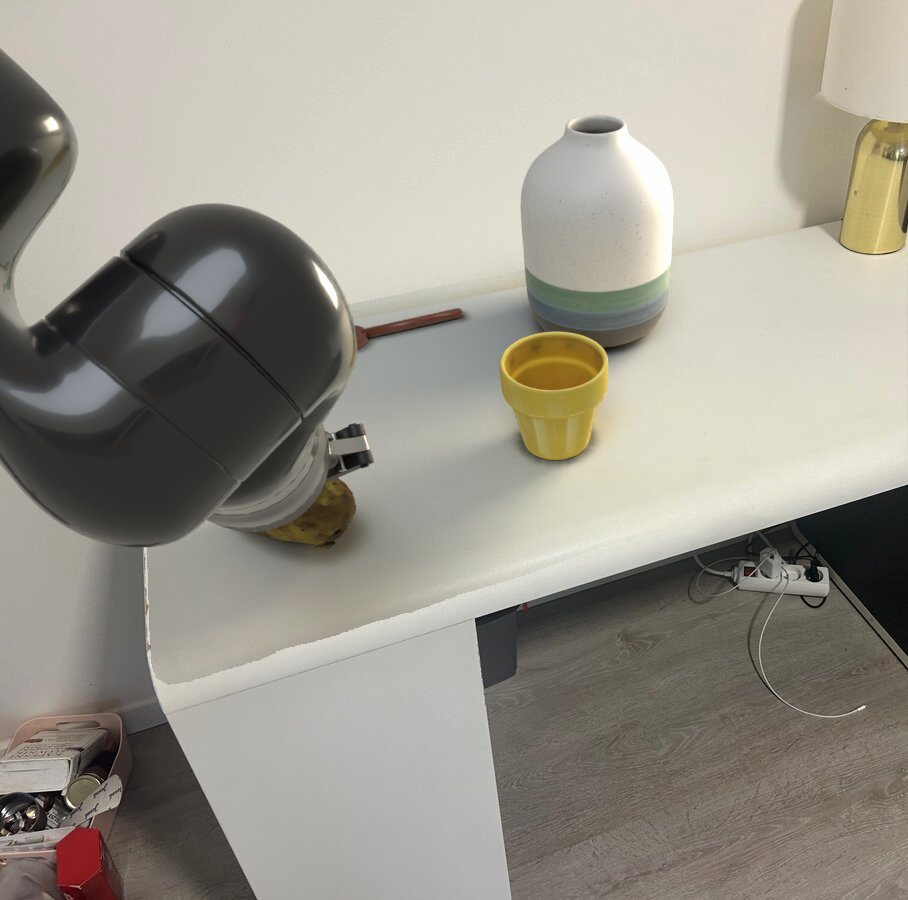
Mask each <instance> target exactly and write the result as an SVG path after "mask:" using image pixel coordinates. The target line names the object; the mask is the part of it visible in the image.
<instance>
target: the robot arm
mask: <svg viewBox="0 0 908 900" xmlns="http://www.w3.org/2000/svg"><path fill="white" fill-rule="evenodd" d="M78 159H79V141H78V137H77V132H76V130H75V127H74V126H73V124H72V122H71V120H70V118H69V116H68V115H67V114H66V112H65V110H64V109H63V108H62V107H61V106H60V105H59V103H57V101H56V100H55V99H54V98H53V97H52V96H51V95H50V93H49V92H48V91H47V90H46V89H44V87H42V85H40V84H39V83H38V81H36V79H34V77H32V76H31V75H30V74H29V73H28V72H27V71H26V70H25V69H24V68H23V67H22V66H20V65H19V64H18V63H17V62H16V61H15V60H14V59H13V58H12V57H11V56H9V54H7V53H6V52H5V51H4V50H3V48H0V466H1V467H2V468H3V470H4V471H5V472H6V473H7V474H8V476H9V477H10V478H11V479H12V480H13V481H14V483H15V484H16V485H17V486H18V487H19V488H20V490H21V491H22V493H24V495H25V496H26V497H27V498H28V499H30V501H32V503H33V504H35V505H36V506H37V508H39V509H40V510H41V511H43V512H44V513H45V514H46V515H48V517H50V518H51V519H52V520H54V521H56V522H57V523H59V525H60V524H61V525H62V526H63V527H64V528H67V529H69V530H71V531H72V532H74V533H77V534H79V535H80V536H83V537H86V538H88V539H90V540H93V541H95V542H100V543H103V544H105V545H112V546H113V545H114V546H119V547H124V548H125V547H126V548H157V547H164V546H167V545H171V544H174V543H175V542H179V541H180V540H183V539H184V538H186V537H187V536H189V535H190V534H191V533H193V532H195V531H197V529H199V528H200V527H201V526H202V525H203V524H204V523H205V522H206V521H207V522H210V523H212V524H215V525H218V526H221V527H222V528H225V529H229V530H232V531H236V532H237V531H238V532H244V533H257V532H260V531H267V530H271V529H275V528H278V527H281V526H284V525H286V524H288V523H290V522H292V521H293V520H295V519H297V518H298V517H299V516H301V515H302V514H303V513H304V512H306V511H307V510H308V509H309V508H310V507H311V505H312V504H313V503H314V502H315V501H316V499H317V498H318V496H319V494H320V493H321V491H322V489H323V487H324V484H325V483H327V482H329V481H332V480H334V479H336V478H339V479H340V478H342V477H343V476H346V475H348V474H351V473H353V472H355V471H358V470H360V469H365V468H368V467H370V465H372V464H374V463H375V460H374V457H373V453H372V451H371V446H370V443H369V440H368V437H367V434H366V433H367V432H366V430H365V427H364V423H357V422H354V423H353V422H352V423H349V424H348V425H347V426H346V427H344V428H341V429H340V430H337V431H331V432H328V431H326V430H325V427H324V423H325V420H326V419H327V418H328V416H329V415H330V413H331V412H332V411H333V409H334V407H335V406H336V404H338V401H339V400H340V398H341V397H342V395H343V393H344V392H345V390H346V389H347V388H348V387H347V386H348V385H349V383H350V381H351V380H352V379H351V378H352V377H353V374H354V372H355V367H356V362H357V357H358V349H357V338H356V331H355V326H354V325H355V322H354V317H353V314H352V311H351V308H350V305H349V302H348V300H347V298H346V295H345V293H344V291H343V289H342V287H341V286H340V284H339V282H338V280H337V278H336V277H335V275H334V274H333V272H332V271H331V269H330V268H329V266H328V264H326V262H325V260H323V258H322V257H321V256H320V255H319V254H318V253H317V251H315V250H314V248H313V247H312V246H310V244H309V243H308V242H306V240H305V239H304V238H302V237H301V236H300V235H298V234H297V233H296V232H295V231H294V230H292V229H290V228H289V227H288V226H286V225H285V224H283V223H282V222H280V221H278V220H276V219H275V218H272V217H271V216H269V215H266V214H264V213H262V212H260V211H258V210H254V209H252V208H248V207H244V206H241V205H235V204H229V203H222V202H221V203H220V202H209V203H196V204H192V205H187V206H182V207H179V208H178V209H175V210H173V211H171V212H169V213H166V214H164V215H163V216H161V217H160V218H158V219H156V220H155V221H154V222H152V223H151V224H149V225H148V226H147V227H146V228H144V229H143V230H142V231H141V232H139V234H137V235H136V236H135V237H134V238H133V239H132V240H130V241H129V242H128V243H127V244H126V245H124V247H122V249H120V250H119V256H118V255H117V256H116V255H113V256H112V257H111V258H110V259H109V260H107V262H105V263H104V264H103V265H102V266H101V267H100V268H98V269H97V270H96V271H95V272H94V273H93V274H91V275H90V276H89V277H88V278H87V279H86V280H85V281H84V282H82V283H81V284H80V285H79V286H78V287H77V288H75V290H73V291H72V292H71V293H70V294H69V295H68V296H66V297H65V298H64V299H63V300H61V302H59V304H58V305H56V306H55V307H54V308H53V309H52V310H51V311H49V312H48V313H47V314H46V315H45V316H44V318H40V319H39V320H38V321H37V322H34V323H33V324H32V325H28V324H27V323H26V322H25V320H24V319H23V317H22V315H21V313H20V309H19V306H18V303H17V299H16V292H15V273H16V269H17V266H18V265H19V262H20V260H21V258H22V256H23V254H24V251H25V250H26V248H27V247H28V245H29V244H30V242H31V240H32V238H33V237H34V235H36V233H37V231H38V230H39V228H40V227H41V226H42V225H43V223H44V222H45V220H46V219H47V217H48V216H49V214H50V213H51V212H52V211H53V209H54V208H55V207H56V205H57V203H58V201H59V200H60V199H61V197H62V195H63V194H64V192H65V190H66V188H67V187H68V185H69V183H70V182H71V180H72V178H73V174H74V172H75V171H76V167H77V162H78Z"/></svg>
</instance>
